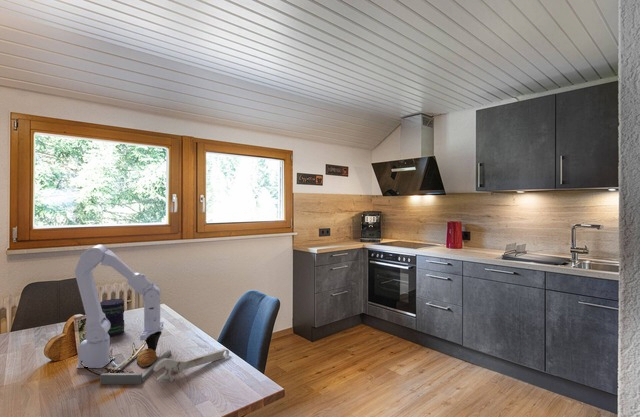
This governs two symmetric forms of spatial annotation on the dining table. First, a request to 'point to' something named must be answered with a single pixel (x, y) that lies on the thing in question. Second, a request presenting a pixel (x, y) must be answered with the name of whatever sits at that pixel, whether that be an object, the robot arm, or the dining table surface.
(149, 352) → the pastry
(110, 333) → the storage jar
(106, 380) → the bay
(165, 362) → the wrench
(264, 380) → the dining table surface
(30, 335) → the dining table surface
